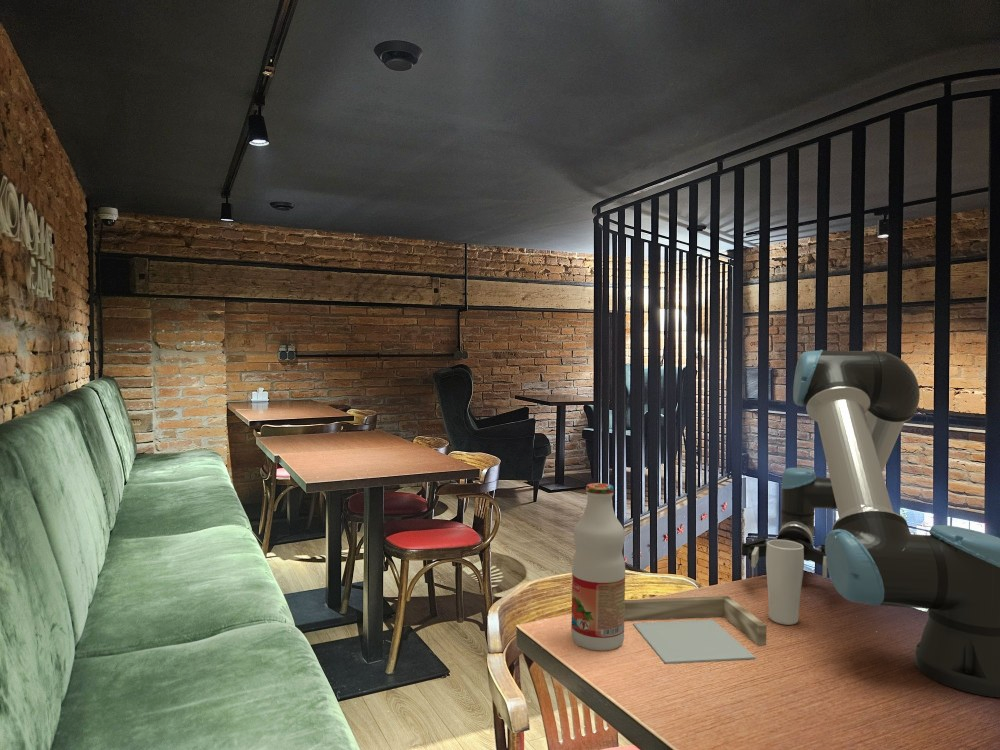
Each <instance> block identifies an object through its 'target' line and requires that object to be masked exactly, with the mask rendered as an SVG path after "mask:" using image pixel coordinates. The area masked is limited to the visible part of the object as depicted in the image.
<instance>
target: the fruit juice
mask: <svg viewBox="0 0 1000 750" xmlns="http://www.w3.org/2000/svg"><path fill="white" fill-rule="evenodd" d="M614 488H615V487H614V486H613V484H609V483H601V482H595V483H588V484H587V485H586V486H585V491H586V493H585V495H586V496H587V502H586V505H585V509H584V512H583V514H582V516H581V517H580V519H579V520H578V521H577V523H576V524H575V526H574V529H573V541H574V545H575V553H574V554H573V559H572V564H571V565H572V568H571V578H572V579H571V624H570V626H571V629H570V630H571V638H572V640H573V642H574V643H575V644H576V645H577V646H579V647H581V646H582V648H584V649H588V650H591V651H604V652H605V651H611V650H615V649H618V648H619V647H621V646H622V645H623V643H624V639H625V621H624V614H625V600H626V562H625V558H624V556H623V548H624V545H625V542H626V541H625V540H626V534H625V533H626V532H625V529H624V527H623V525H622V523H621V522H620V520H619V519H618V518H617V516H616V513H615V510H614V506H613V501H612V499H613V496H614V494H615V493H614V492H615V490H614Z"/></svg>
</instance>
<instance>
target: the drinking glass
mask: <svg viewBox="0 0 1000 750" xmlns="http://www.w3.org/2000/svg"><path fill="white" fill-rule="evenodd" d="M765 567H766V569H765V571H766V582H767V598H768V601H767V602H768V617H769V619H770V620H771V621H772V622H774V623H777V624H780V625H784V626H787V625H789V626H791V625H792V626H793V625H795V624H798V623H799V622H798V621H799V620H800V619H799V613H800V612H799V611H800V602H801V594H802V593H801V592H802V586H803V579H804V569H805V568H804V567H805V560H804V546H803V545H802V544H800V543H797V542H794V541H788V540H777V539H769V540H768V542H767V547H766V556H765Z"/></svg>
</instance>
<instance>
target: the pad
mask: <svg viewBox="0 0 1000 750" xmlns="http://www.w3.org/2000/svg"><path fill="white" fill-rule="evenodd" d="M632 625H633V626H634V627H635V629H636V630H637V631H638V633H639V634H640V635H641V636H642V638H643V639H644V640H645V641H646V642H647V644H649V646H650V647H651V649H653V651H654V652H655V653H656V654H657V656H658V657H659V658H660V659H661V661H662V662H663V663H664V664H665V665H667V664H668V665H670V664H685V663H703V662H705V663H706V662H708V663H709V662H725V661H726V662H727V661H742V660H743V661H747V660H756V656H755V655H754V654H752V652H750V651H749V650H748V649H747V648H746V647H745V646H744V645H742V644H741V643H740V642H739V641H738V640H737V639H736V638H734V637H733V636H732V635H731V634H730V633H728V632H727V630H725V629H724V628H723V627H722V626H721V625H720V624H718V623H717V622H716V621H715V620H714V619H703V620H702V619H701V620H700V619H698V620H677V621H675V620H674V621H656V622H653V621H651V622H633V623H632Z"/></svg>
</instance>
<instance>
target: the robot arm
mask: <svg viewBox="0 0 1000 750" xmlns="http://www.w3.org/2000/svg"><path fill="white" fill-rule="evenodd" d="M792 395H793V396H792V397H793V403H794V404H795V405H796V406H798V407H799V406H800V407H805V408H806V413H807V415H808V417H809V418H810V419H811V420H813V421H814V422H817V425H818V430H819V433H820V434H819V435H820V439H821V443H822V447H823V453H824V456H825V457H824V458H825V461H826V466H827V470H828V475H829V477H817V476H816V472H815V470H813V469H810V468H804V467H803V468H802V467H788V468H785V469H784V470H783V472H782V477H781V479H782V480H781V512H780V513H781V515H780V530H779V532H778V534H777V537H776V540H788V541H794V542H797V543H800V544H802V545H803V546H804V561H805V562H808V561H809V562H812V563H815V564H818V565H820V566H822V578H823V579H827V578H828V577H827V576H828V574H829V578H830V580H831V582H832V585H833V586H834V588H835V590H836V591H837V593H838V594H839V595H840V596H842V597H843V598H844V599H845V600H847V601H849V602H852V603H859V604H866V605H869V606H872V607H873V606H874V607H876V606H885V607H887V606H888V607H901V608H915V609H926V610H927V609H928V617H927V621H926V624H925V626H924V629H923V632H922V635H921V638H920V642H917V644H916V646H915V649H914V665H915V667H916V668H917V669H918V670H919V671H920V672H921V673H923V674H924V675H925V676H927V677H928V678H930V679H932V680H934V681H936V682H939V683H940V684H942V685H945V686H948V687H951V688H953V689H956V690H959V691H962V692H967V693H971V694H974V695H980V696H984V697H990V698H991V697H992V698H1000V537H998V536H995V535H992V534H988V533H984V532H982V531H978V530H973V529H971V528H970V529H969V528H964V527H960V526H954V525H949V524H933V525H932V526H931V528H930V530H929V535H928V534H926V535H925V534H914V533H911V531H910V528H909V525H908V522H907V520H906V518H905V517H904V516H903V515H901V514H899V513H897V512H894V508H893V506H892V502H891V498H890V495H889V492H888V489H887V485H886V482H885V478H884V475H883V472H884V470H885V467H886V465H887V463H888V460H889V459H890V456H891V454H892V451H893V449H894V448H895V447H894V446H895V445H896V442H897V440H898V438H899V436H900V433H901V431H902V429H903V426H904V424H905V423H906V422H908V421H911V419H913V417H914V416H915V413H916V411H917V409H918V407H919V402H920V396H921V395H920V385H919V381H918V379H917V377H916V375H915V373H914V372H913V370H912V369H911V367H910V366H909V365H908V364H907V363H906V362H905V361H904V360H903V359H901V358H900V357H898V356H897V355H895V354H892V353H890V352H886V351H881V350H867V351H866V350H823V349H819V350H808V351H804V352H803V353H801V354H800V356H799V357H798V360H797V363H796V366H795V372H794V379H793V389H792ZM816 509H826V510H827V509H829V510H837V515H838V519H836V520H835V522H834V523H833V525H832V528H831V529H832V530H830V531H829V532H828V533H827V535H826V538H825V542H824V544H820V545H819V546H818V547H815V546H814V545H813V542H814V541H813V540H814V538H815V533H816V532H815V530H816V528H815V510H816ZM768 541H769V539H768V538H767V537H765V536H763V537H762V536H761V537H760V538H759V539H758V538H757V539H755V540H752V541H747V542H744V543H742V544H741V556H744V557H746V556H747V559H748V560H749V561H750V562H751V564H750V565H751V566H750V567H751V568H756V566H757V563H758V561H759V558H761V557H764V558H765V557H766V547H767V542H768Z"/></svg>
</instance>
